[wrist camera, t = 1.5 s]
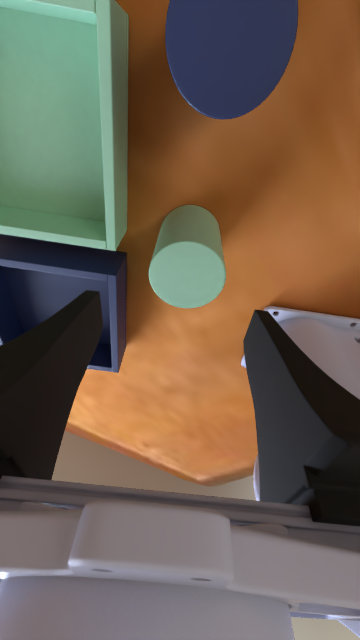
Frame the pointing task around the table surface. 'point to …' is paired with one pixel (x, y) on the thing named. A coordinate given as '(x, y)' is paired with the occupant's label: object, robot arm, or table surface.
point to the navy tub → (62, 290)
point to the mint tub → (64, 121)
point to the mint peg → (188, 258)
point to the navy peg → (229, 51)
